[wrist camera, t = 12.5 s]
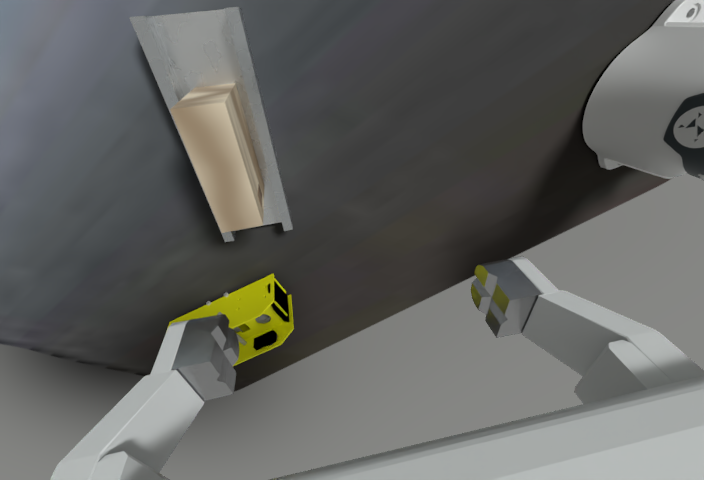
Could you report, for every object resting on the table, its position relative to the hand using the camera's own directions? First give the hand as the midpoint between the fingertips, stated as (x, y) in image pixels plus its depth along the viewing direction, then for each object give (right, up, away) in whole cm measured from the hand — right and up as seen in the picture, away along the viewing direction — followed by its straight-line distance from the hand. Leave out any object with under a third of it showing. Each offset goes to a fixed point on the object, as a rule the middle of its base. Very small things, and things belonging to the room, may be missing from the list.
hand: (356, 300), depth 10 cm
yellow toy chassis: (-17, -7, +33) cm, 38 cm away
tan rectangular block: (-12, +11, +19) cm, 25 cm away
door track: (-12, +12, +20) cm, 26 cm away
